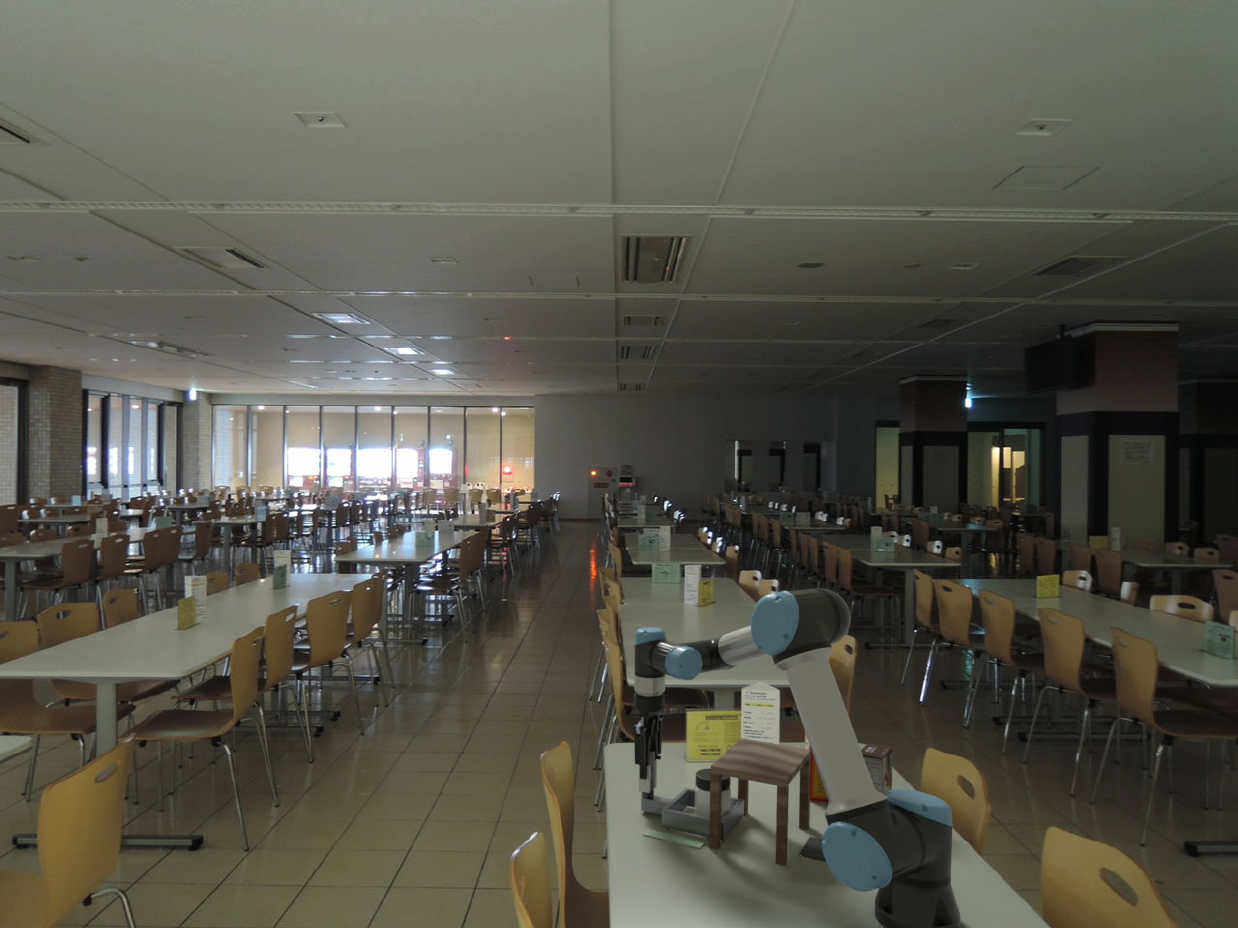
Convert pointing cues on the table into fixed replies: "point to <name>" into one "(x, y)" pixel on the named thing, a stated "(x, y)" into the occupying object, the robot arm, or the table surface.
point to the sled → (674, 808)
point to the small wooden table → (762, 767)
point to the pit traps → (813, 849)
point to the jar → (704, 794)
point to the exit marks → (673, 838)
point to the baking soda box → (815, 779)
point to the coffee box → (879, 766)
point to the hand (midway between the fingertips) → (647, 788)
